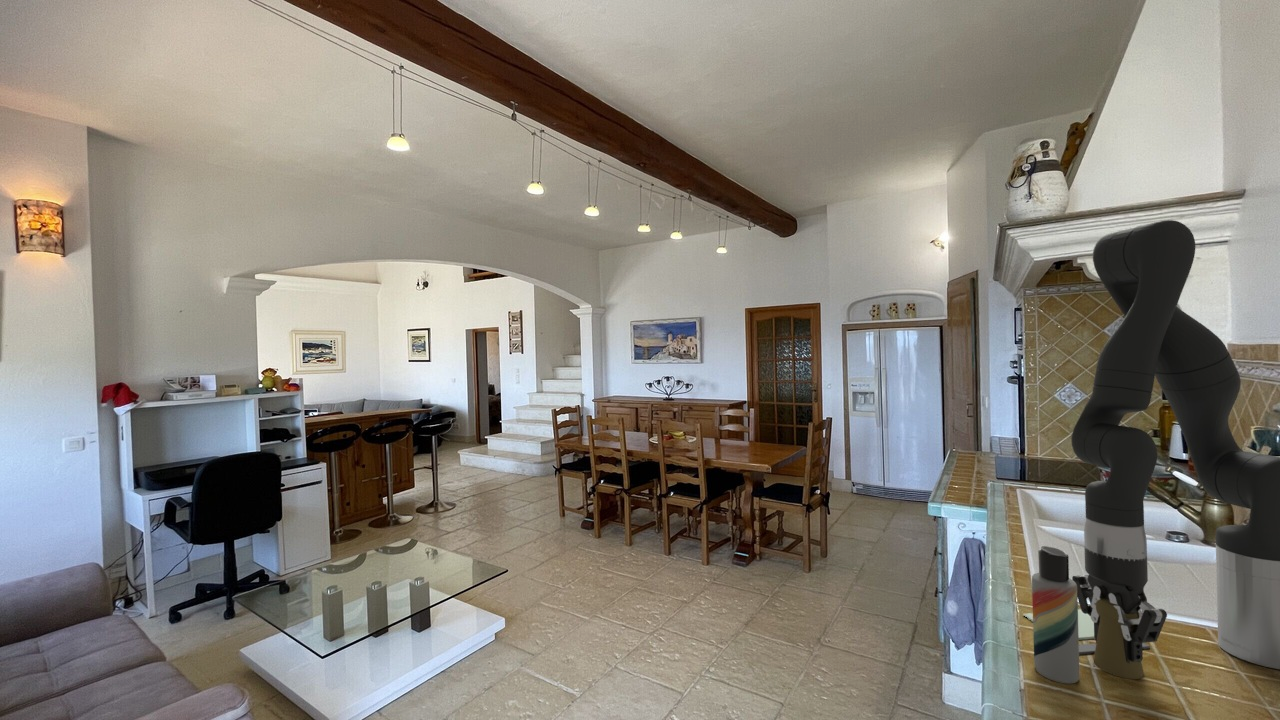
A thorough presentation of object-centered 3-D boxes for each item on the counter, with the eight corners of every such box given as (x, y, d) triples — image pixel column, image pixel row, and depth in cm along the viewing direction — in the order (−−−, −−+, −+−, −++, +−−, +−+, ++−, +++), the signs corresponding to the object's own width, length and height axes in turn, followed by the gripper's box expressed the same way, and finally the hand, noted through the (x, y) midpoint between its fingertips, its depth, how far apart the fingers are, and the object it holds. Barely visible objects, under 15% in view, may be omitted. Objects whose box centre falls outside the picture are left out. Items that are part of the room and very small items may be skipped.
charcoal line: (1138, 641, 92) (1138, 639, 92) (1149, 648, 90) (1149, 646, 90) (1051, 649, 91) (1051, 647, 91) (1061, 656, 89) (1061, 653, 89)
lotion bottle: (1035, 658, 88) (1031, 540, 88) (1079, 670, 85) (1076, 547, 84) (1033, 675, 84) (1029, 551, 84) (1079, 689, 80) (1076, 558, 80)
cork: (1154, 680, 82) (1152, 610, 81) (1109, 677, 83) (1107, 607, 83) (1126, 658, 87) (1125, 592, 87) (1085, 655, 89) (1083, 590, 88)
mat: (1080, 611, 103) (1080, 609, 103) (1126, 635, 94) (1126, 633, 94) (1022, 615, 102) (1022, 613, 102) (1063, 641, 93) (1063, 638, 93)
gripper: (1185, 564, 78) (1187, 679, 78) (1095, 531, 92) (1097, 629, 92) (1138, 567, 77) (1140, 683, 78) (1055, 534, 92) (1057, 632, 92)
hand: (1117, 653), depth 85 cm, fingers closed on cork, 4 cm apart
